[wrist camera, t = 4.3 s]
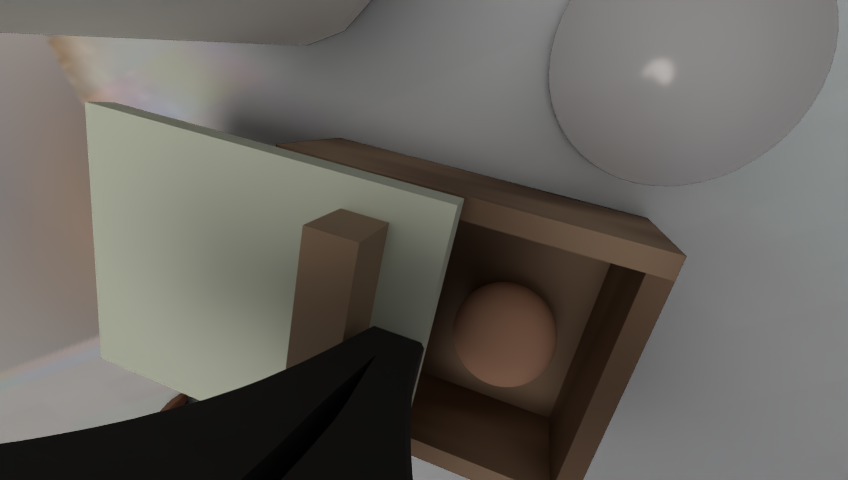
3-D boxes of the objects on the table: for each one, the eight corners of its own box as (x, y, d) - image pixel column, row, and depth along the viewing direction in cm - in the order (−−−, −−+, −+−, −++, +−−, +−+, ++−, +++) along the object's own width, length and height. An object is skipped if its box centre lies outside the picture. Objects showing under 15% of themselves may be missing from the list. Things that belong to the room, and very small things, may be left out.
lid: (464, 198, 9) (439, 223, 7) (398, 459, 12) (365, 535, 10) (114, 102, 11) (10, 98, 9) (124, 345, 14) (45, 388, 12)
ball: (568, 284, 13) (575, 331, 10) (539, 364, 14) (538, 426, 11) (475, 256, 13) (457, 292, 11) (453, 334, 14) (431, 386, 12)
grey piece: (859, -47, 9) (901, -69, 8) (737, 204, 11) (758, 213, 10) (590, -83, 10) (595, -106, 9) (522, 151, 13) (520, 154, 11)
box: (647, 218, 12) (686, 256, 9) (560, 428, 15) (564, 518, 11) (340, 138, 14) (275, 144, 11) (312, 336, 17) (254, 391, 13)
